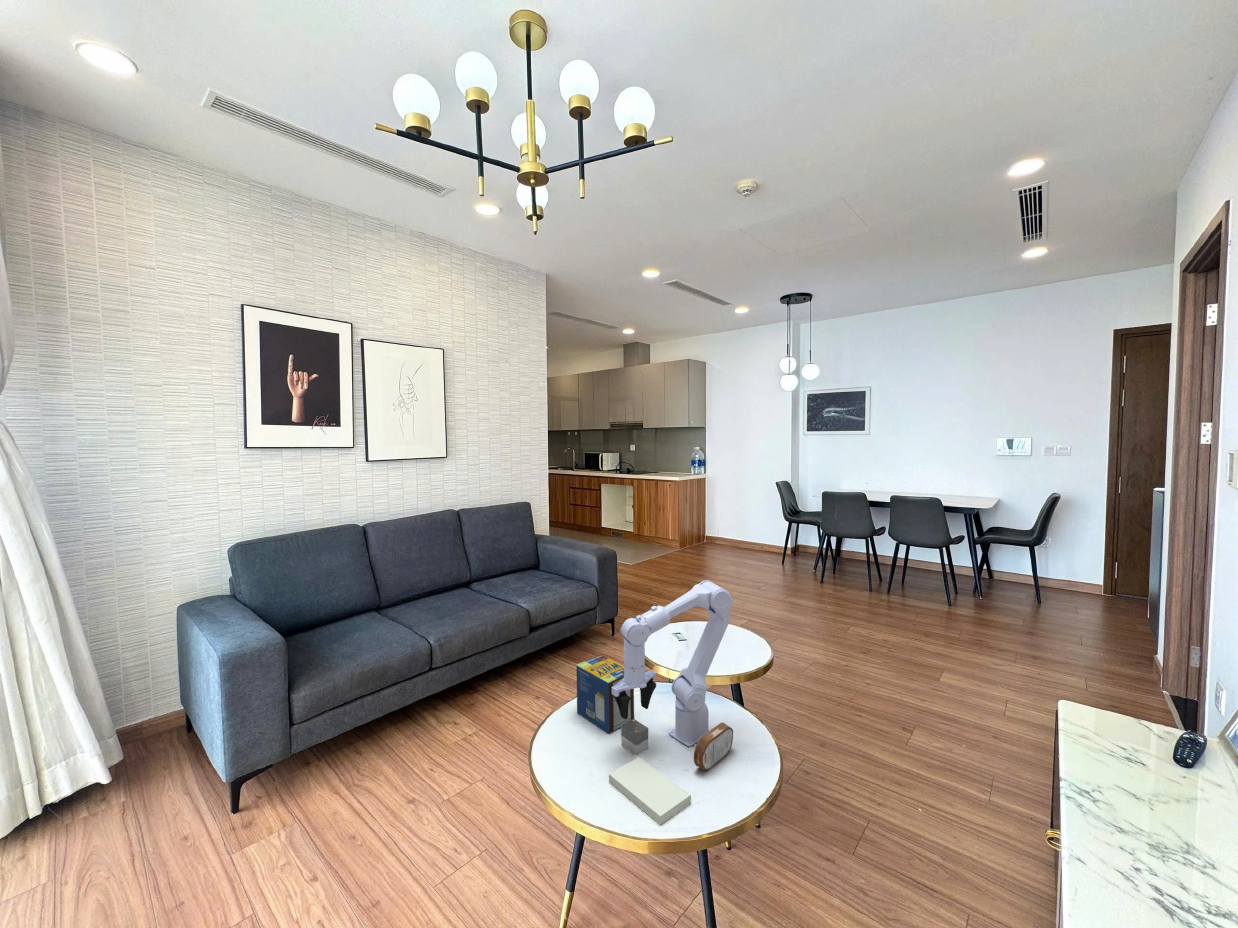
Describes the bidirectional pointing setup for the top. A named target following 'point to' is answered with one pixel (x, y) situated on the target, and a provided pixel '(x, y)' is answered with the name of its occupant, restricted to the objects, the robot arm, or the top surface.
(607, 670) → the protein box
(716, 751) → the tin
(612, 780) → the sage stand
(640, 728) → the housing
